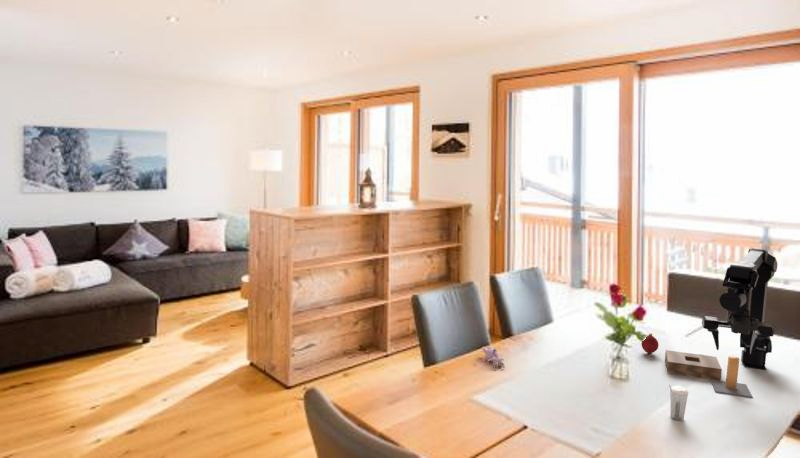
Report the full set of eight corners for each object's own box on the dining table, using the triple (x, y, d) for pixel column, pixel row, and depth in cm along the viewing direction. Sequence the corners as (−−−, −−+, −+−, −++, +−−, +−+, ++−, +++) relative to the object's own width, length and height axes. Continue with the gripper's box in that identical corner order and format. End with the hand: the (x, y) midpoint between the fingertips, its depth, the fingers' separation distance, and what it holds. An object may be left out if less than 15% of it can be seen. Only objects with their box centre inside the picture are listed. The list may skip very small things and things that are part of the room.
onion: (659, 357, 197) (661, 336, 196) (642, 356, 199) (644, 335, 198) (655, 351, 203) (656, 331, 202) (639, 350, 204) (640, 330, 203)
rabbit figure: (508, 372, 186) (492, 350, 200) (510, 357, 185) (493, 336, 198) (491, 373, 185) (476, 351, 199) (493, 358, 183) (478, 337, 197)
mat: (745, 385, 174) (745, 384, 174) (752, 398, 164) (752, 396, 164) (710, 380, 177) (710, 379, 177) (715, 392, 168) (715, 391, 168)
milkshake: (662, 414, 153) (664, 381, 152) (679, 413, 154) (682, 380, 153) (671, 422, 149) (674, 388, 148) (689, 421, 149) (692, 387, 148)
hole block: (715, 367, 188) (716, 356, 188) (720, 380, 177) (721, 369, 177) (664, 360, 194) (665, 350, 194) (667, 372, 183) (668, 361, 183)
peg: (735, 386, 172) (738, 356, 170) (737, 390, 169) (740, 360, 168) (724, 384, 173) (727, 355, 172) (726, 388, 170) (729, 358, 169)
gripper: (708, 307, 164) (703, 356, 166) (780, 315, 156) (775, 365, 158) (703, 298, 174) (699, 344, 176) (771, 305, 166) (766, 353, 169)
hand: (734, 351), depth 169 cm, fingers open, 9 cm apart
